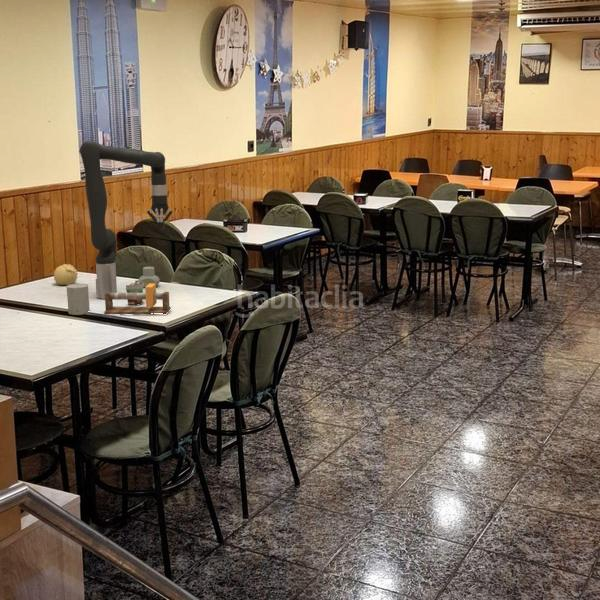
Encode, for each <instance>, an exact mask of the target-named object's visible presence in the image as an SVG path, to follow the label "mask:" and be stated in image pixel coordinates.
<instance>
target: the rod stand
mask: <svg viewBox="0 0 600 600" xmlns="http://www.w3.org/2000/svg"><path fill="white" fill-rule="evenodd" d="M153 297H154V300H159V301H160V300H161V301H162V306H153V307H146V306H128V305H127V306H123V305H122V306H118V305H116V306H114V302H113V300H127V299H131V300H142V301H143V300H145V301H146V293H145V292H143V293H127V292H117V293H112V292H107V293H105V299H104V304H105V307H104V308H105V310H104V311H103V312H104V314H151V313H153V314H154V313H163V314H166V313H167V312H168V311H169V310H170V309H171V310H172V308H171V307H172V306H171V305H170V292H169V291H163V292H156V293H153ZM171 310H170V311H171ZM170 311H169V312H170Z"/></svg>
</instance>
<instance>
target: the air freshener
mask: <svg viewBox="0 0 600 600" xmlns="http://www.w3.org/2000/svg"><path fill="white" fill-rule="evenodd" d="M155 274H156V273H155V267H154V266H144V267H143V268H142V275H141V276H140V277H139V278H138V281H142V282H143V284H144V287H143V288H145V287H146V286H147V285H148V284H156V287H157V286H158V285H159V284H160V282H161V279H160V277H159V276H157V274H156V275H155Z"/></svg>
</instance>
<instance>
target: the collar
mask: <svg viewBox="0 0 600 600" xmlns="http://www.w3.org/2000/svg"><path fill="white" fill-rule="evenodd" d="M144 290H145V291H144V293H146V300H145V307H155V305H156V304H157V300H154V297H153V293H157V286H156V284H148V285H147V286H146V287H144Z"/></svg>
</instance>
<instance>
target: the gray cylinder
mask: <svg viewBox="0 0 600 600" xmlns="http://www.w3.org/2000/svg"><path fill="white" fill-rule="evenodd" d="M65 286H66V297H67V309H68V310H67V311H68V313H67V314H69V315H73V316H74V315H75V316H79V315H85V314H84V313H87V312H88V311H90V312H91V310H90V296H89V295H90V294H89V284H88V283H74V284H71V285H65ZM87 314H88V313H87Z"/></svg>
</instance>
